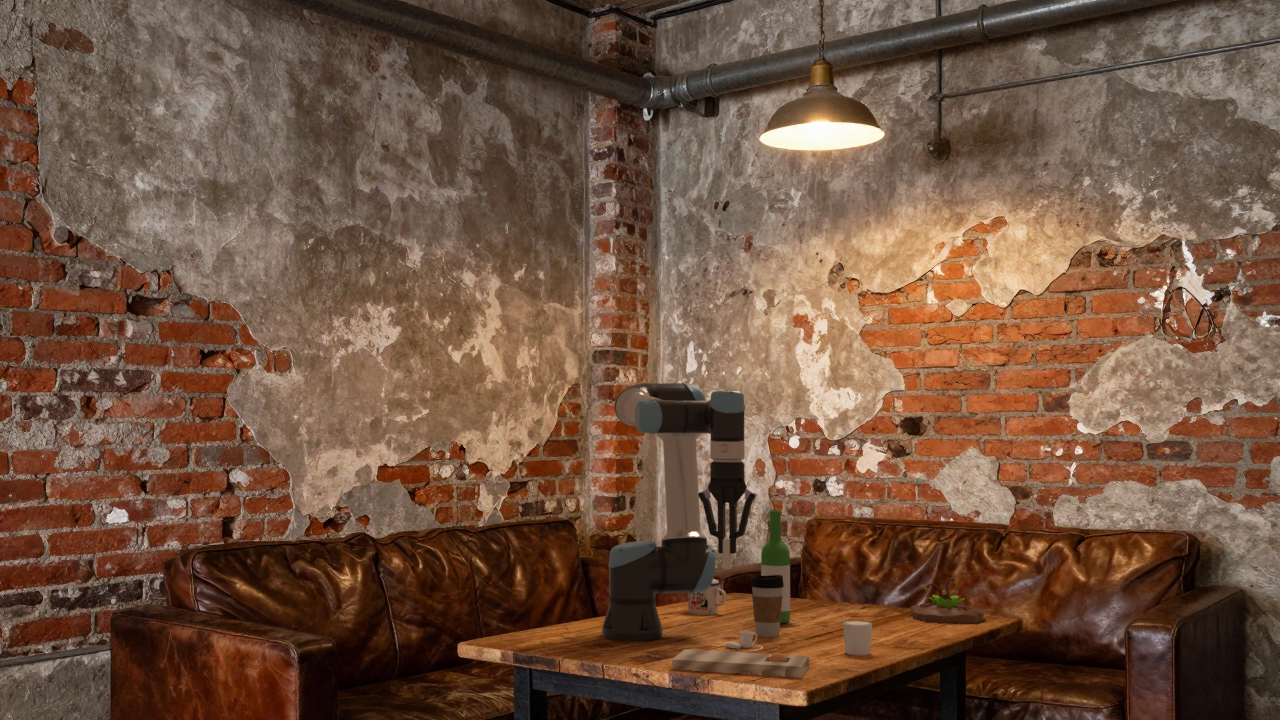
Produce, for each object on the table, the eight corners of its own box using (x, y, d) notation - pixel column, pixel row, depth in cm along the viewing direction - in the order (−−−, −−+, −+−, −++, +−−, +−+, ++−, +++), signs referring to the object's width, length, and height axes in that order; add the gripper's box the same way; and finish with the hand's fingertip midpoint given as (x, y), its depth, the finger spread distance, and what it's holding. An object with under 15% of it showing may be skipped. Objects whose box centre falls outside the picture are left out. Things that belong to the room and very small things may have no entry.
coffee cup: (782, 638, 289) (782, 578, 289) (748, 637, 290) (748, 577, 291) (785, 633, 297) (785, 574, 298) (752, 631, 298) (752, 573, 299)
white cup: (852, 649, 276) (851, 619, 276) (878, 652, 271) (877, 622, 272) (837, 653, 270) (837, 622, 271) (863, 656, 266) (863, 626, 266)
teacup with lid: (681, 613, 327) (681, 572, 328) (698, 609, 335) (698, 569, 336) (717, 617, 320) (717, 575, 321) (734, 613, 328) (734, 572, 329)
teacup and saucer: (725, 652, 273) (725, 634, 273) (726, 645, 281) (726, 628, 281) (763, 652, 272) (763, 635, 272) (763, 646, 280) (763, 629, 280)
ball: (772, 646, 251) (787, 651, 249) (778, 658, 253) (793, 663, 251) (762, 660, 249) (777, 665, 246) (768, 672, 251) (783, 677, 248)
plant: (988, 625, 312) (987, 583, 312) (913, 623, 315) (913, 581, 316) (979, 613, 331) (978, 574, 332) (909, 611, 335) (909, 572, 335)
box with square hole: (672, 671, 250) (672, 659, 250) (684, 660, 261) (684, 649, 261) (801, 678, 242) (801, 666, 243) (808, 667, 254) (808, 655, 254)
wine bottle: (776, 618, 319) (775, 509, 321) (796, 622, 313) (795, 510, 315) (755, 621, 315) (755, 510, 317) (775, 625, 309) (775, 512, 310)
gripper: (694, 461, 253) (694, 569, 252) (753, 461, 250) (753, 571, 249) (702, 459, 261) (701, 565, 259) (759, 460, 257) (759, 567, 256)
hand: (727, 568), depth 254 cm, fingers closed
